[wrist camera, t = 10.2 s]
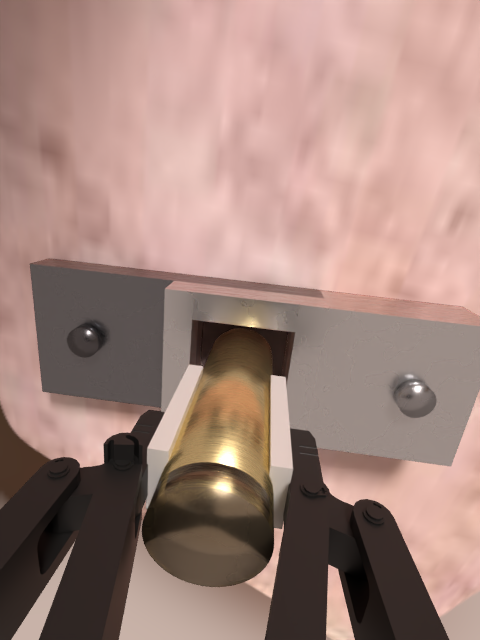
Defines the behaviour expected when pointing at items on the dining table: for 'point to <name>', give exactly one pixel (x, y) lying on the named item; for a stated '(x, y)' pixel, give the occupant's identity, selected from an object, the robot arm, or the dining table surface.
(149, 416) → the robot arm
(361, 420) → the door bolt
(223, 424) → the pin
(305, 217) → the dining table surface
